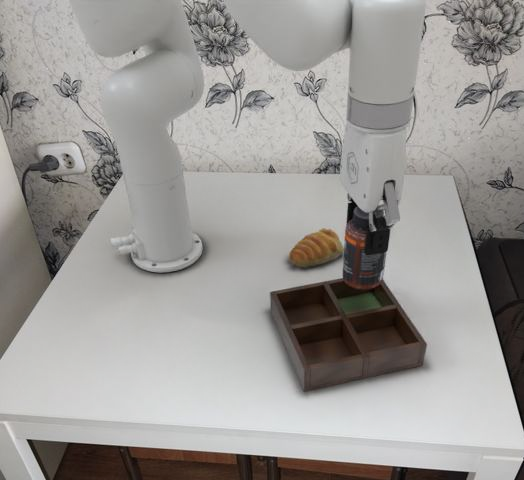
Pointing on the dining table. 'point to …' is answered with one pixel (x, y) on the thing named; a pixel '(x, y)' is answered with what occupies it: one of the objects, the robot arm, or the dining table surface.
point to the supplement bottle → (361, 254)
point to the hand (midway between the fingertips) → (366, 238)
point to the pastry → (316, 249)
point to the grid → (344, 332)
